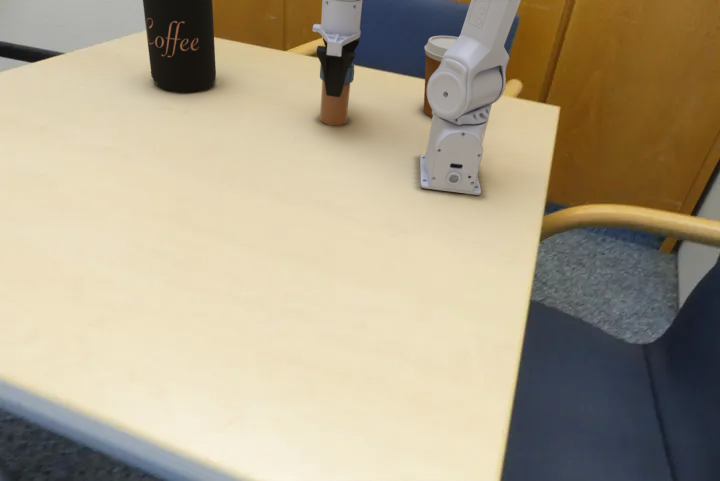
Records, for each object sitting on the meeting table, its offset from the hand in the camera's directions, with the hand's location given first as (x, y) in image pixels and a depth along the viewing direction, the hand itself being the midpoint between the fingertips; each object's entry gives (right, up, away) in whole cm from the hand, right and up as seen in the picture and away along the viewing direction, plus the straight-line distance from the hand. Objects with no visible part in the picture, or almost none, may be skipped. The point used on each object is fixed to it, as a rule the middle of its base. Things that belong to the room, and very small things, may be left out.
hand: (335, 89), depth 87 cm
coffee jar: (-27, +4, +10) cm, 29 cm away
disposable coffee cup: (+18, -1, +10) cm, 21 cm away
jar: (0, -4, +3) cm, 5 cm away
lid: (0, +3, -2) cm, 4 cm away
